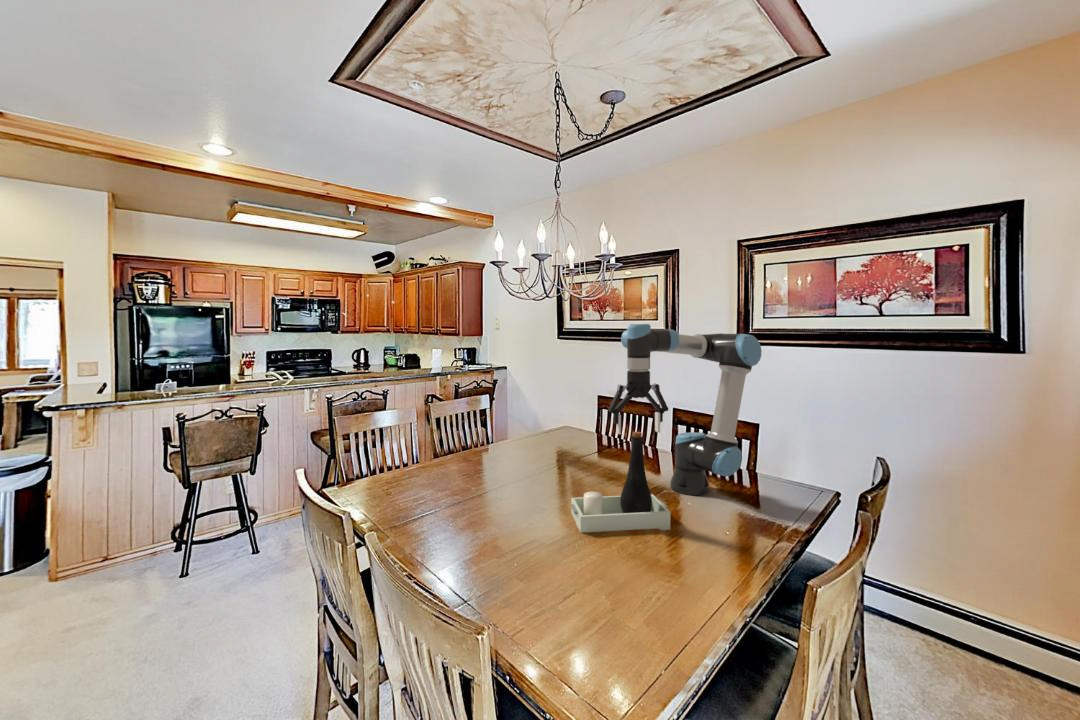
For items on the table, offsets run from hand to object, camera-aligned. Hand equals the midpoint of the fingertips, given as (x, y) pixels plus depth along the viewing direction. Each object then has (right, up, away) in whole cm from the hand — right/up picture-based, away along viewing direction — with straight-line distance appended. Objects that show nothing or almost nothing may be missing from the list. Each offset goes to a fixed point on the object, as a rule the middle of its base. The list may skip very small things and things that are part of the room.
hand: (638, 432), depth 154 cm
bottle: (0, -30, +2) cm, 30 cm away
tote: (-6, -31, +2) cm, 31 cm away
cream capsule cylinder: (-15, -30, 0) cm, 34 cm away
